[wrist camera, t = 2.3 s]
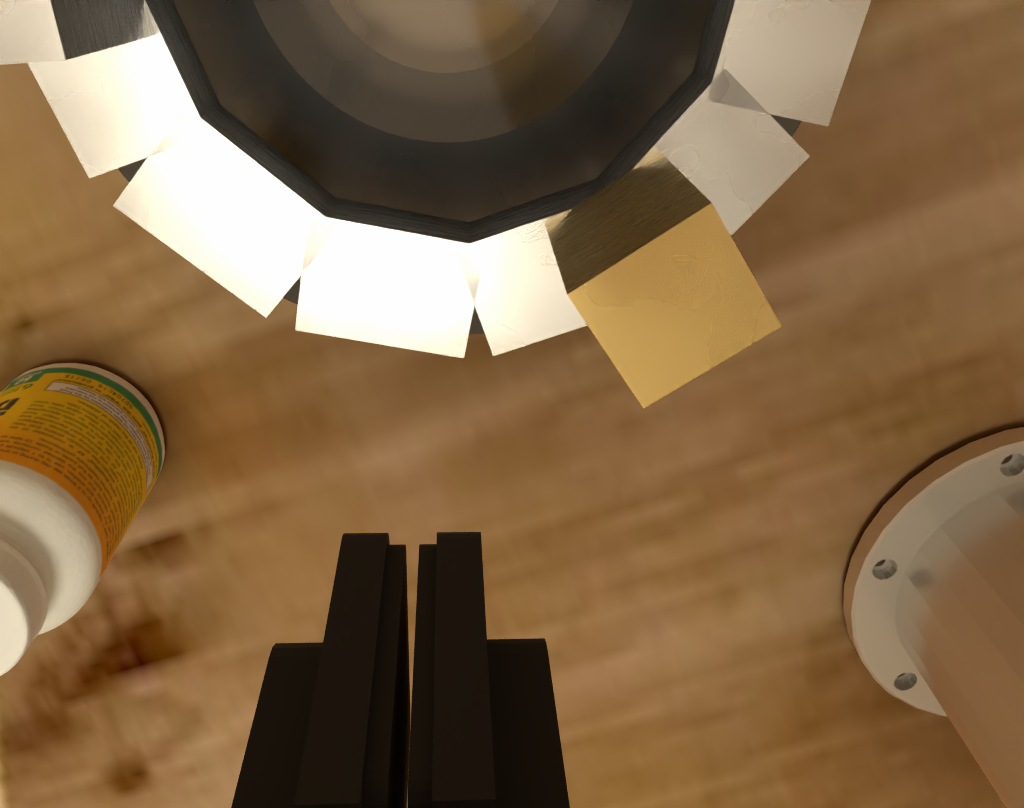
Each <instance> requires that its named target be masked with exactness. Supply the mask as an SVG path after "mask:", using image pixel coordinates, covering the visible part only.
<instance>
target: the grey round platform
mask: <svg viewBox="0 0 1024 808" xmlns="http://www.w3.org/2000/svg"><path fill="white" fill-rule="evenodd" d="M173 2H174V4H175V6H176V8H177V10H178V12H179V15H180V17H181V19H182V21H183V23H184V26H185V28H186V30H187V32H188V34H189V37H190V39H191V41H192V43H193V45H194V48H195V50H196V52H197V54H198V56H199V58H200V61H201V63H202V65H203V67H204V69H205V72H206V74H207V76H208V78H209V80H210V83H211V85H212V87H213V89H214V91H215V94H216V96H217V98H218V100H219V102H220V104H221V105H222V106H223V107H224V108H225V109H227V110H228V111H229V112H230V113H232V114H233V115H234V116H235V117H236V118H238V119H239V120H240V121H241V122H243V123H244V124H245V125H246V126H248V127H249V128H250V129H251V130H253V131H254V132H255V133H256V134H258V135H259V136H260V137H261V138H263V139H264V140H265V141H266V142H267V143H269V144H270V145H271V146H272V147H274V148H275V149H276V150H277V151H279V152H280V153H281V154H282V155H284V156H285V157H286V158H287V159H289V160H290V161H291V162H292V163H293V164H295V165H296V166H297V167H298V168H300V169H301V170H302V171H303V172H305V173H306V174H307V175H308V176H310V177H311V178H312V179H313V180H315V181H316V182H317V183H318V184H319V185H321V186H322V187H323V188H324V189H326V190H327V191H328V192H329V193H331V194H332V195H333V196H334V197H337V198H342V199H347V200H353V201H358V202H363V203H369V204H374V205H379V206H384V207H390V208H395V209H400V210H406V211H411V212H416V213H422V214H427V215H432V216H438V217H443V218H448V219H454V220H459V221H464V222H471V221H474V220H477V219H480V218H483V217H486V216H489V215H491V214H494V213H497V212H500V211H503V210H506V209H509V208H512V207H515V206H518V205H521V204H524V203H526V202H529V201H532V200H535V199H538V198H541V197H544V196H547V195H550V194H553V193H556V192H559V191H561V190H564V189H567V188H570V187H573V186H576V185H579V184H582V183H585V182H588V181H591V180H594V179H596V178H597V177H598V175H599V174H600V173H601V172H602V171H603V170H604V169H605V168H606V167H607V166H608V164H609V163H610V162H611V161H612V160H613V159H614V158H615V157H616V156H617V155H618V153H619V152H620V151H621V150H622V149H623V148H624V147H625V146H626V145H627V144H628V142H629V141H630V140H631V139H632V138H633V137H634V136H635V135H636V134H637V133H638V131H639V130H640V129H641V128H642V127H643V126H644V125H645V124H646V123H647V122H648V120H649V119H650V118H651V117H652V116H653V115H654V114H655V113H656V112H657V111H658V109H659V108H660V107H661V106H662V105H663V104H664V103H665V102H666V101H667V100H668V98H669V97H670V96H671V95H672V94H673V93H674V92H675V91H676V90H677V89H678V87H679V86H680V85H681V84H682V83H683V82H684V81H685V80H686V79H687V78H688V76H689V75H690V74H691V73H692V71H693V68H694V64H695V60H696V57H697V53H698V49H699V46H700V42H701V38H702V35H703V31H704V27H705V24H706V20H707V16H708V13H709V9H710V5H711V2H712V0H173ZM770 115H771V116H772V117H773V118H774V119H775V121H776V122H777V123H778V124H779V125H780V126H781V127H782V128H783V129H784V130H785V131H786V132H787V133H788V134H789V135H790V136H791V137H792V136H793V134H794V133H795V131H796V130H797V128H798V126H799V124H800V122H801V121H800V120H795V119H791V118H786V117H781V116H777V115H772V114H770ZM147 158H148V157H147ZM147 158H144V159H141V160H139V161H136V162H133V163H130V164H128V165H125V166H122V167H119V168H118V169H119V170H120V172H121V173H122V174H123V176H124V177H125V178H126V179H127V180H128V181H129V182H130V181H131V180H132V179H133V177H134V176H135V174H136V173H137V172H138V170H139V169H140V167H141V166H142V165H143V163H144V162H145V160H146V159H147ZM300 283H301V276H300V277H299V278H298V279H297V281H296V282H295V283H294V284H293V285H292V287H291V288H290V289H289V290H288V292H287V293H286V294H285V295H284V296H283V298H285V299H287V300H289V301H291V302H293V303H296V304H298V300H299V291H300ZM480 333H485V332H484V330H483V327H482V324H481V321H480V319H479V316H478V313H477V311H476V308H475V305H474V309H473V314H472V319H471V325H470V330H469V334H480Z"/></svg>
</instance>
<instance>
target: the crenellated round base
mask: <svg viewBox="0 0 1024 808" xmlns="http://www.w3.org/2000/svg"><path fill="white" fill-rule="evenodd" d="M870 2H871V0H712V2H711V5H710V9H709V13H708V16H707V20H706V24H705V27H704V31H703V35H702V38H701V42H700V46H699V49H698V53H697V57H696V60H695V64H694V68H693V71H692V73H691V74H690V75H689V76H688V78H687V79H686V80H685V81H684V82H683V83H682V84H681V85H680V86H679V87H678V89H677V90H676V91H675V92H674V93H673V94H672V95H671V96H670V97H669V98H668V100H667V101H666V102H665V103H664V104H663V105H662V106H661V107H660V108H659V109H658V111H657V112H656V113H655V114H654V115H653V116H652V117H651V118H650V119H649V120H648V122H647V123H646V124H645V125H644V126H643V127H642V128H641V129H640V130H639V131H638V133H637V134H636V135H635V136H634V137H633V138H632V139H631V140H630V141H629V142H628V144H627V145H626V146H625V147H624V148H623V149H622V150H621V151H620V152H619V153H618V155H617V156H616V157H615V158H614V159H613V160H612V161H611V162H610V163H609V164H608V166H607V167H606V168H605V169H604V170H603V171H602V172H601V173H600V174H599V175H598V177H597V178H596V179H594V180H591V181H588V182H585V183H582V184H579V185H576V186H573V187H570V188H567V189H564V190H561V191H559V192H556V193H553V194H550V195H547V196H544V197H541V198H538V199H535V200H532V201H529V202H526V203H524V204H521V205H518V206H515V207H512V208H509V209H506V210H503V211H500V212H497V213H494V214H491V215H489V216H486V217H483V218H480V219H477V220H474V221H471V222H464V221H459V220H454V219H448V218H443V217H438V216H432V215H427V214H422V213H416V212H411V211H406V210H400V209H395V208H390V207H384V206H379V205H374V204H369V203H363V202H358V201H353V200H347V199H342V198H337V197H334V196H333V195H332V194H331V193H329V192H328V191H327V190H326V189H324V188H323V187H322V186H321V185H319V184H318V183H317V182H316V181H315V180H313V179H312V178H311V177H310V176H308V175H307V174H306V173H305V172H303V171H302V170H301V169H300V168H298V167H297V166H296V165H295V164H293V163H292V162H291V161H290V160H289V159H287V158H286V157H285V156H284V155H282V154H281V153H280V152H279V151H277V150H276V149H275V148H274V147H272V146H271V145H270V144H269V143H267V142H266V141H265V140H264V139H263V138H261V137H260V136H259V135H258V134H256V133H255V132H254V131H253V130H251V129H250V128H249V127H248V126H246V125H245V124H244V123H243V122H241V121H240V120H239V119H238V118H236V117H235V116H234V115H233V114H232V113H230V112H229V111H228V110H227V109H225V108H224V107H223V106H222V105H221V104H220V102H219V100H218V98H217V96H216V94H215V91H214V89H213V87H212V85H211V83H210V80H209V78H208V76H207V74H206V72H205V69H204V67H203V65H202V63H201V61H200V58H199V56H198V54H197V52H196V50H195V48H194V45H193V43H192V41H191V39H190V37H189V34H188V32H187V30H186V28H185V26H184V23H183V21H182V19H181V17H180V15H179V12H178V10H177V8H176V6H175V4H174V2H173V0H0V65H2V64H17V63H28V65H29V67H30V69H31V71H32V72H33V74H34V76H35V78H36V80H37V82H38V84H39V85H40V87H41V89H42V91H43V93H44V95H45V97H46V99H47V100H48V102H49V104H50V106H51V108H52V110H53V112H54V113H55V115H56V117H57V119H58V121H59V123H60V125H61V126H62V128H63V130H64V132H65V134H66V136H67V138H68V140H69V141H70V143H71V145H72V147H73V149H74V151H75V153H76V154H77V156H78V158H79V160H80V162H81V164H82V166H83V167H84V169H85V171H86V173H87V175H88V177H89V178H92V177H95V176H97V175H100V174H103V173H106V172H108V171H111V170H114V169H117V168H119V167H122V166H125V165H128V164H130V163H133V162H136V161H139V160H141V159H144V158H147V157H148V158H147V159H146V160H145V162H144V163H143V165H142V166H141V167H140V169H139V170H138V172H137V173H136V174H135V176H134V177H133V179H132V180H131V181H130V183H129V184H128V186H127V187H126V188H125V190H124V191H123V193H122V194H121V195H120V197H119V198H118V200H117V201H116V202H115V204H114V205H113V206H114V207H116V208H117V209H118V210H120V211H121V212H123V213H124V214H125V215H127V216H128V217H129V218H131V219H132V220H133V221H135V222H136V223H138V224H139V225H140V226H142V227H143V228H144V229H146V230H147V231H148V232H150V233H151V234H153V235H154V236H155V237H157V238H158V239H159V240H161V241H162V242H163V243H165V244H166V245H168V246H169V247H170V248H172V249H173V250H174V251H176V252H177V253H178V254H180V255H181V256H183V257H184V258H185V259H187V260H188V261H189V262H191V263H192V264H193V265H195V266H196V267H198V268H199V269H200V270H202V271H203V272H204V273H206V274H207V275H208V276H210V277H211V278H213V279H214V280H215V281H217V282H218V283H219V284H221V285H222V286H223V287H225V288H226V289H228V290H229V291H230V292H232V293H233V294H234V295H236V296H237V297H238V298H240V299H241V300H243V301H244V302H245V303H247V304H248V305H249V306H251V307H252V308H253V309H255V310H256V311H258V312H259V313H260V314H262V315H263V316H264V317H267V316H268V315H269V314H270V312H271V311H272V310H273V309H274V307H275V306H276V305H277V304H278V303H279V301H280V300H281V299H282V298H283V296H284V295H285V294H286V293H287V292H288V290H289V289H290V288H291V287H292V285H293V284H294V283H295V282H296V281H297V279H298V278H299V277H300V276H301V283H300V291H299V300H298V309H297V318H296V327H295V330H298V331H304V332H310V333H316V334H322V335H328V336H334V337H340V338H346V339H352V340H358V341H364V342H370V343H376V344H382V345H388V346H394V347H400V348H405V349H411V350H417V351H423V352H429V353H435V354H441V355H447V356H453V357H459V358H464V355H465V350H466V345H467V340H468V335H469V330H470V325H471V319H472V314H473V309H474V305H475V308H476V311H477V313H478V316H479V319H480V321H481V324H482V327H483V330H484V332H485V335H486V338H487V340H488V343H489V346H490V348H491V351H492V354H493V356H495V355H498V354H501V353H504V352H508V351H511V350H514V349H517V348H520V347H523V346H526V345H529V344H532V343H535V342H538V341H541V340H544V339H547V338H550V337H553V336H556V335H559V334H562V333H565V332H569V331H572V330H575V329H578V328H581V327H584V326H587V325H588V326H589V328H590V329H591V331H592V332H593V334H594V335H595V337H596V338H597V340H598V341H599V343H600V344H601V346H602V347H603V349H604V350H605V352H606V353H607V355H608V356H609V358H610V359H611V361H612V362H613V364H614V365H615V367H616V368H617V370H618V371H619V373H620V374H621V376H622V377H623V379H624V380H625V382H626V383H627V385H628V386H629V388H630V389H631V391H632V392H633V394H634V395H635V397H636V398H637V400H638V401H639V403H640V404H641V406H642V407H643V408H645V407H647V406H649V405H650V404H652V403H654V402H655V401H657V400H659V399H660V398H662V397H664V396H666V395H667V394H669V393H671V392H672V391H674V390H676V389H677V388H679V387H681V386H682V385H684V384H686V383H687V382H689V381H691V380H692V379H694V378H696V377H697V376H699V375H701V374H702V373H704V372H706V371H708V370H709V369H711V368H713V367H714V366H716V365H718V364H719V363H721V362H723V361H724V360H726V359H728V358H729V357H731V356H733V355H734V354H736V353H738V352H739V351H741V350H743V349H745V348H746V347H748V346H750V345H751V344H753V343H755V342H756V341H758V340H760V339H761V338H763V337H765V336H766V335H768V334H770V333H771V332H773V331H775V330H776V329H778V328H780V327H782V326H781V324H780V322H779V321H778V319H777V317H776V315H775V314H774V312H773V310H772V308H771V307H770V305H769V303H768V301H767V299H766V298H765V296H764V294H763V292H762V291H761V289H760V287H759V285H758V284H757V282H756V280H755V278H754V277H753V275H752V273H751V271H750V269H749V268H748V266H747V264H746V262H745V261H744V259H743V257H742V255H741V254H740V252H739V250H738V248H737V246H736V245H735V243H734V241H733V239H732V238H731V235H732V234H733V233H734V232H735V231H736V230H737V229H738V228H739V227H740V226H741V225H742V224H743V223H744V222H745V221H746V220H747V219H748V218H749V217H750V216H751V215H752V214H753V213H754V212H755V211H756V210H757V209H758V208H759V207H760V206H761V205H762V204H763V203H764V202H765V201H766V200H767V199H768V198H769V197H770V196H771V195H772V194H773V193H774V192H775V191H776V190H777V189H778V188H779V187H780V186H781V185H782V184H783V183H784V182H785V181H786V180H787V179H788V178H789V177H790V176H791V175H792V174H793V173H794V172H795V171H796V170H797V169H798V168H799V167H800V166H801V165H802V164H803V163H804V162H805V161H806V160H807V159H808V158H809V157H810V156H809V155H808V154H807V153H806V152H805V151H804V150H803V149H802V148H801V146H800V145H799V144H798V143H797V142H796V141H795V140H794V139H793V138H792V137H791V136H790V135H789V134H788V133H787V132H786V131H785V130H784V129H783V128H782V127H781V126H780V125H779V124H778V123H777V122H776V121H775V119H774V118H773V117H772V116H771V115H770V114H772V115H777V116H781V117H786V118H791V119H795V120H800V121H805V122H809V123H814V124H819V125H823V126H829V123H830V120H831V117H832V114H833V111H834V108H835V105H836V102H837V99H838V96H839V93H840V90H841V87H842V85H843V82H844V79H845V76H846V73H847V70H848V67H849V64H850V61H851V58H852V55H853V52H854V49H855V46H856V43H857V40H858V38H859V35H860V32H861V29H862V26H863V23H864V20H865V17H866V14H867V11H868V8H869V5H870Z"/></svg>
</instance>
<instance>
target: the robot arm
mask: <svg viewBox="0 0 1024 808" xmlns="http://www.w3.org/2000/svg"><path fill="white" fill-rule="evenodd" d="M843 613H844V617H845V622H846V627H847V631H848V635H849V637H850V639H851V641H852V643H853V645H854V647H855V649H856V651H857V653H858V655H859V657H860V659H861V661H862V662H863V664H864V665H865V667H866V668H867V670H868V671H869V672H870V674H871V675H872V677H873V678H874V680H875V681H876V682H877V683H878V684H880V685H881V686H882V687H883V688H884V689H885V690H886V691H887V692H888V693H889V694H891V695H892V696H894V697H896V698H898V699H899V700H901V701H903V702H905V703H907V704H909V705H910V706H912V707H914V708H917V709H920V710H923V711H926V712H930V713H933V714H936V715H940V716H946V717H948V718H949V720H950V721H951V723H952V724H953V726H954V727H955V729H956V730H957V732H958V734H959V735H960V737H961V738H962V740H963V741H964V743H965V745H966V746H967V748H968V749H969V751H970V752H971V754H972V755H973V757H974V759H975V760H976V762H977V763H978V765H979V766H980V768H981V770H982V771H983V773H984V774H985V776H986V777H987V779H988V780H989V782H990V784H991V785H992V787H993V788H994V790H995V791H996V793H997V794H998V796H999V798H1000V799H1001V801H1002V802H1003V804H1004V805H1005V807H1006V808H1024V427H1021V428H1015V429H1010V430H1005V431H1002V432H999V433H996V434H993V435H991V436H988V437H985V438H982V439H979V440H976V441H973V442H971V443H969V444H967V445H965V446H963V447H961V448H959V449H957V450H955V451H953V452H951V453H949V454H947V455H945V456H944V457H942V458H940V459H938V460H937V461H935V462H934V463H932V464H931V465H930V466H928V467H927V468H925V469H924V470H923V471H921V472H920V473H918V474H917V475H916V476H914V477H913V478H912V479H910V480H909V481H908V482H907V483H906V484H905V485H904V486H903V487H902V488H901V489H900V490H899V491H898V492H897V493H896V494H894V495H893V496H892V497H891V498H890V499H889V500H888V501H887V502H886V503H885V504H884V505H883V507H882V508H881V510H880V511H879V512H878V514H877V515H876V516H875V518H874V519H873V520H872V522H871V523H870V524H869V526H868V527H867V529H866V530H865V531H864V533H863V535H862V537H861V539H860V541H859V543H858V545H857V548H856V550H855V552H854V554H853V556H852V558H851V561H850V565H849V568H848V572H847V576H846V580H845V584H844V601H843ZM409 747H410V751H409ZM408 767H409V772H408ZM407 788H408V808H570V806H569V799H568V792H567V785H566V778H565V770H564V763H563V756H562V749H561V742H560V735H559V728H558V721H557V714H556V707H555V699H554V692H553V685H552V678H551V671H550V664H549V657H548V650H547V645H546V641H545V639H491V640H487V635H486V617H485V599H484V581H483V563H482V545H481V532H437V544H420V545H419V564H418V584H417V605H416V626H415V647H414V668H413V688H412V709H411V730H410V682H409V643H408V605H407V566H406V545H389V535H388V533H344V534H343V536H342V541H341V546H340V552H339V557H338V563H337V569H336V574H335V580H334V585H333V591H332V597H331V602H330V608H329V613H328V619H327V624H326V630H325V636H324V641H323V643H276V644H275V645H274V646H273V648H272V650H271V653H270V656H269V660H268V664H267V668H266V672H265V676H264V680H263V684H262V688H261V692H260V696H259V700H258V704H257V708H256V712H255V716H254V720H253V724H252V728H251V732H250V735H249V739H248V743H247V747H246V751H245V755H244V759H243V763H242V767H241V771H240V775H239V779H238V783H237V787H236V791H235V795H234V799H233V803H232V807H231V808H407Z"/></svg>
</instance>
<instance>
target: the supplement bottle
mask: <svg viewBox="0 0 1024 808" xmlns="http://www.w3.org/2000/svg"><path fill="white" fill-rule="evenodd" d="M164 456H165V445H164V437H163V432H162V429H161V425H160V422H159V420H158V417H157V415H156V413H155V411H154V409H153V408H152V406H151V405H150V403H149V402H148V400H147V399H146V398H145V397H144V396H143V395H142V394H141V393H140V392H139V391H138V390H137V389H136V388H135V387H134V386H132V385H131V384H130V383H128V382H127V381H125V380H124V379H122V378H121V377H119V376H117V375H115V374H113V373H111V372H109V371H107V370H104V369H101V368H99V367H96V366H91V365H86V364H79V363H55V364H50V365H46V366H41V367H37V368H34V369H31V370H29V371H27V372H25V373H23V374H21V375H20V376H18V377H17V378H16V379H14V380H13V381H12V382H11V383H10V384H9V385H8V386H7V387H6V388H4V389H3V390H2V391H1V392H0V676H1V675H3V674H4V673H6V672H7V671H9V670H10V669H11V668H12V667H13V666H14V665H15V664H17V662H18V661H19V660H20V659H21V657H22V656H23V654H24V653H25V651H26V650H27V648H28V647H29V645H30V644H31V642H32V641H33V640H34V638H35V637H36V636H37V635H39V634H42V633H45V632H47V631H49V630H52V629H54V628H56V627H58V626H59V625H61V624H62V623H64V622H66V621H67V620H68V619H70V618H71V617H72V616H73V615H74V614H76V613H77V612H78V611H79V610H80V609H81V608H82V606H83V605H84V604H85V603H86V602H87V600H88V599H89V597H90V596H91V594H92V592H93V591H94V589H95V587H96V585H97V584H98V582H99V580H100V578H101V577H102V575H103V573H104V571H105V569H106V568H107V566H108V564H109V562H110V560H111V559H112V557H113V555H114V553H115V551H116V550H117V548H118V546H119V544H120V543H121V541H122V539H123V537H124V536H125V534H126V532H127V530H128V529H129V527H130V525H131V524H132V522H133V520H134V518H135V517H136V515H137V513H138V512H139V510H140V508H141V506H142V505H143V503H144V501H145V499H146V498H147V496H148V494H149V492H150V491H151V489H152V487H153V485H154V484H155V482H156V480H157V478H158V476H159V474H160V471H161V469H162V465H163V462H164Z"/></svg>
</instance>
